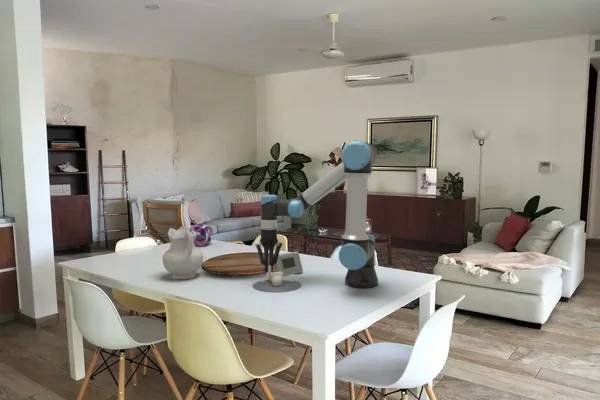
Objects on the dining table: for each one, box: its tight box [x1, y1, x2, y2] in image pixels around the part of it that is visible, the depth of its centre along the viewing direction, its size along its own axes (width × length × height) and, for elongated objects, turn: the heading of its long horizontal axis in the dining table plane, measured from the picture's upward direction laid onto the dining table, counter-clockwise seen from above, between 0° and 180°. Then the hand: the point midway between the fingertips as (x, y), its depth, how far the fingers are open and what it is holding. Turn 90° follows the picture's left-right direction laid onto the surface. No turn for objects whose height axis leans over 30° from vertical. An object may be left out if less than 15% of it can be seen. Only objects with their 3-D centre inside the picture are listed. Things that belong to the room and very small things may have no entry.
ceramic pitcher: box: [162, 225, 204, 280], centre depth 225 cm, size 22×20×25 cm
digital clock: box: [275, 251, 304, 278], centre depth 230 cm, size 16×9×11 cm, turn 123°
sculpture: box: [189, 223, 214, 248], centre depth 307 cm, size 16×17×20 cm
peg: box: [269, 271, 283, 286], centre depth 211 cm, size 13×5×6 cm, turn 26°
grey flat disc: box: [252, 278, 302, 294], centre depth 208 cm, size 22×22×1 cm
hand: (268, 279), depth 213 cm, fingers closed
